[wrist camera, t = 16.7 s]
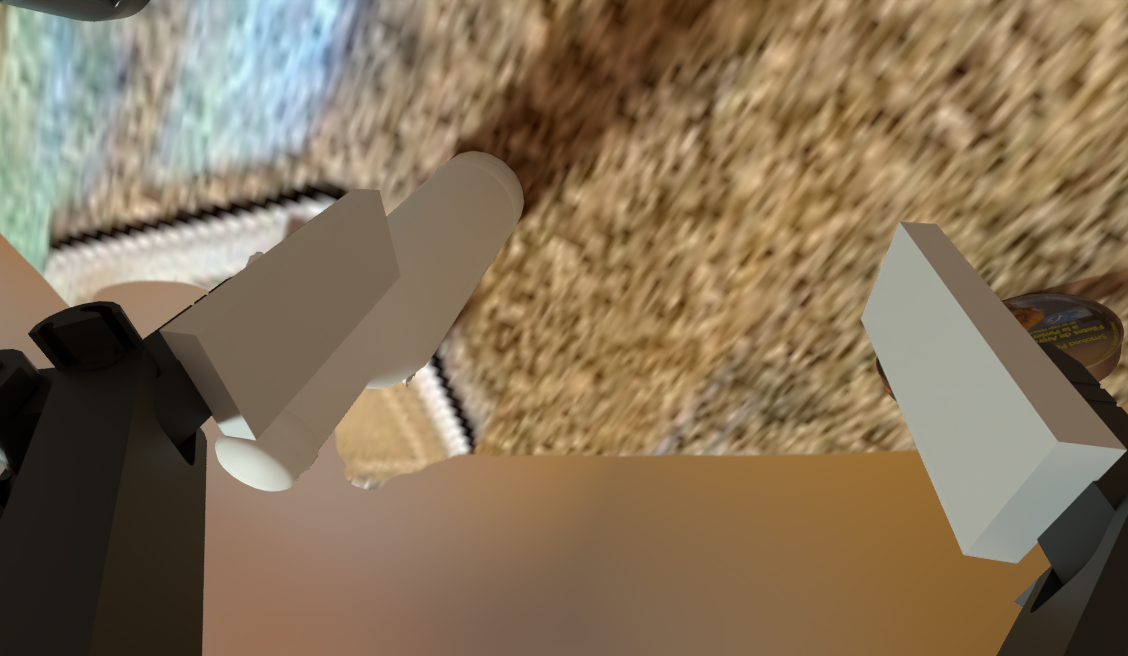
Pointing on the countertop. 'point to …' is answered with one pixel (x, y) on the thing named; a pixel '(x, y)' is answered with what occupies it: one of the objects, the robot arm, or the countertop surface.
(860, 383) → the countertop surface
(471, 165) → the bottle
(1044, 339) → the tin
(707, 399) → the countertop surface
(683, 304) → the countertop surface
